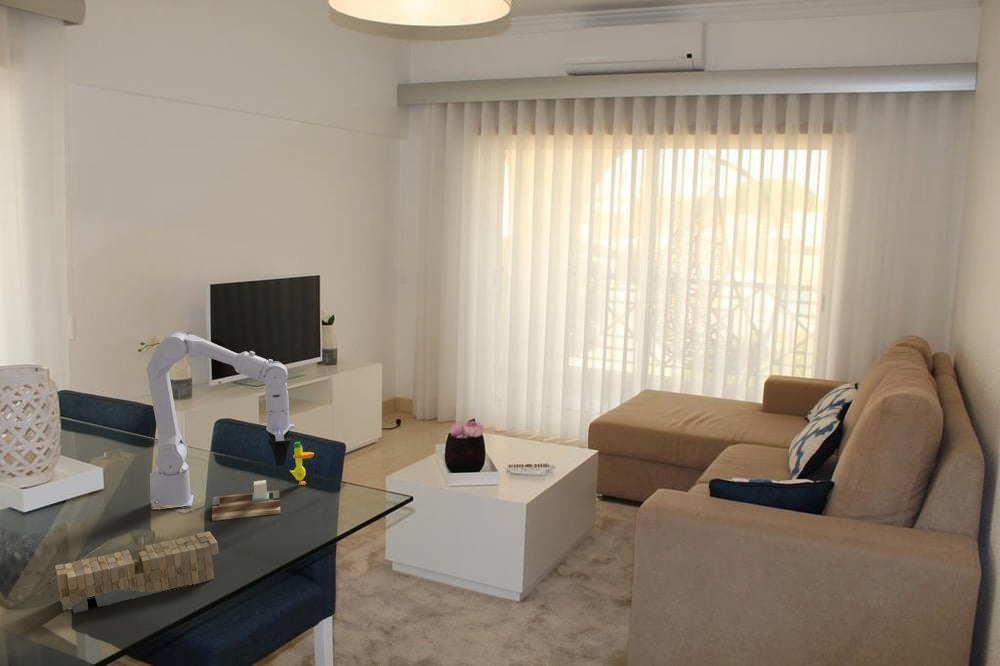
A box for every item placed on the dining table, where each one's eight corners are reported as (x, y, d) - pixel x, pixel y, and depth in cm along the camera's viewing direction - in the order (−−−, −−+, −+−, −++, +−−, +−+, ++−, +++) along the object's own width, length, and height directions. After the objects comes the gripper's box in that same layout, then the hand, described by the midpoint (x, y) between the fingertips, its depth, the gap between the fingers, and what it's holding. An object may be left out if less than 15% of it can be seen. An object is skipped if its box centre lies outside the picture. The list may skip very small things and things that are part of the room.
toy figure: (314, 481, 232) (312, 438, 230) (316, 485, 228) (314, 442, 227) (289, 483, 230) (287, 441, 228) (290, 488, 226) (288, 445, 224)
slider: (252, 507, 210) (251, 486, 209) (252, 500, 215) (251, 480, 214) (269, 505, 211) (268, 485, 210) (269, 498, 216) (268, 478, 215)
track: (212, 520, 204) (211, 509, 204) (214, 503, 215) (213, 493, 215) (280, 513, 208) (279, 502, 208) (279, 496, 220) (278, 486, 219)
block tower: (64, 622, 158) (222, 578, 173) (58, 580, 157) (218, 540, 172) (60, 605, 165) (212, 564, 180) (54, 564, 163) (208, 527, 178)
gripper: (295, 415, 211) (297, 467, 214) (292, 402, 225) (294, 451, 227) (265, 417, 209) (268, 469, 212) (264, 404, 223) (267, 453, 225)
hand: (280, 460), depth 219 cm, fingers open, 7 cm apart
